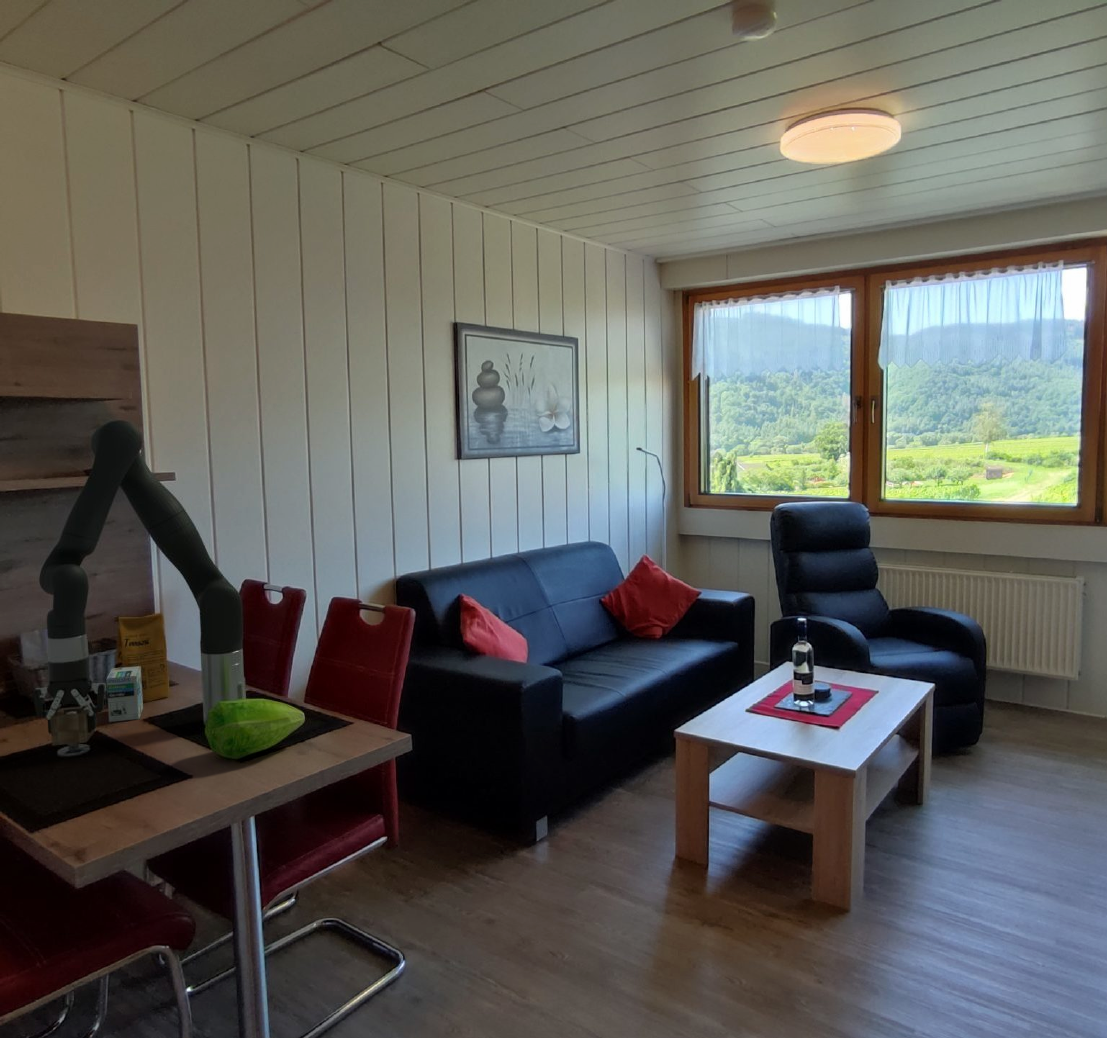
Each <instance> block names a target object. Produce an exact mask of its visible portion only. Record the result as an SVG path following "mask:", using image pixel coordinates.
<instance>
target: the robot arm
mask: <svg viewBox="0 0 1107 1038" xmlns="http://www.w3.org/2000/svg"><path fill="white" fill-rule="evenodd" d="M90 447H91V448H90V449H91V451H92V453H93V455H94V460H93V463H92V465H91V466H92V467H91V470H90V473H89V475H88V477H87V479H86V482H85V483H84V485H83V488H82V490H81V491H80V493H79V495H78V496H77V498H76V500H75V502H74V504H73V506H72V508H71V510H70V513H69V514H68V517H67V518H66V519H67V520H66V522H65V524H64V527H63V529H62V532H61V535H60V537H59V540H58V542H57V544H55V546H54V547H53V549H52V550H51V551H50V552H49V553H50V554H49V555H48V557H46V560H45V562H44V563H43V565H42V567H41V569H40V572H39V578H38V582H39V586H40V588H41V589H42V590H43V591H44V592H45V593H46V594H49V595H51V596H52V599H53V600H52V609H51V610H49V611H48V613H47V615H46V633H47V634H46V635H47V643H46V644H47V645H46V659H47V669H48V670H47V671H48V685H47V686H45V687H40V686H38V687H36V688H35V689H33V690H32V692H31V695H32V698H33V704H34V709H35V713H36V715H35V716H36V717H37V718H45V719H46V720H47V730H48V731H47V732H48V733H49V734H50V735H51V722H50V717H51V716H52V715H54V714H55V712H57V711H58V710H59V709H60V708H61V706H67V705H69V704H72V705H79V707H82V708H83V709H84V710H85V711H86V712H87V714H88V716H87V719H88V733H92V732H93V731H94V732H95V729H96V728H97V724H98V722H97V714H98V713H101V712H103V711H104V710H105V709H106V706H107V705H106V703H107V681H102V682H101V683H98V682H96V683H95V682H93V681H92V679H91V677H90V676H91V672H90V660H89V658H90V657H89V645H88V644H89V643H88V640H87V639H88V638H87V631H86V630H87V629H86V618H85V617H86V616H85V613H86V609H87V604H88V603H87V602H88V597H89V596H88V595H89V589H90V588H89V587H90V586H89V579H88V575H87V573H86V571H85V570H84V568H82V567H80V566H81V564H82V563H83V561H84V560H85V558H86V557H88V556H90V555H92V554H93V553H94V552H95V550H96V548H97V545H98V543H99V540H100V537H101V535H102V532H103V530H104V527H105V524H106V522H107V519H108V516H109V513H110V511H111V508H112V505H113V502H114V499H115V498H116V495H117V492H118V491H119V489H121V490H122V491H123V493H124V495H125V496H126V499H127V500H128V503H129V504H130V505H131V508H132V509H133V510H134V512H135V514H136V516H137V517H138V519H139V520H140V522H141V524H142V525H143V528H145V530H146V533H148V534H149V536H150V537H151V539H152V541H153V542H154V544H155V545H156V547H157V548H158V549H159V551H161V553H162V554H163V555H164V556H165V557H166V559H167V560H168V561H169V562H170V563H171V564H172V565H173V566H174V567H175V568H176V570H177V571H178V572H179V573H180V575H181V576H182V578H183V579H184V581H185V582H186V584H187V586H188V588H189V590H190V591H191V594H192V596H193V598H194V600H195V602H196V605H197V607H198V609H199V627H200V629H199V630H200V639H199V647H200V668H201V669H200V670H201V688H202V689H201V691H202V709H203V710H202V711H203V714H202V716H203V725H204V726H206V722H207V717H208V712H209V711H210V710H211V709H212V708H213V707H214V706H215V705H216V704H217V703H218V702H220V701H232V700H237V699H247V696H246V695H247V693H246V677H245V676H244V675H245V673H244V671H245V670H244V653H243V652H244V650H243V649H244V648H243V639H244V615H243V614H244V612H243V600H242V596H241V594H240V592H239V591H238V590H237V588H235V587H234V585H232V584H231V582H229V580H228V579H227V578H226V577H225V576H224V574H223V573H222V572H221V571H220V569H219V568H218V567H217V566H216V564H215V563H214V561H213V560H212V557H210V554H209V553H208V550H207V548H206V545H205V543H204V541H203V539H202V537H201V534H200V532H199V531H198V529H197V527H196V525H195V523H194V522H193V520H192V518H191V517H190V515H189V514H188V512H187V511H186V509H185V507H184V506H183V505H182V504H181V502H180V501H179V500H178V499H177V497H176V496H175V495H174V494H173V493H172V492H171V491H170V490H169V489H168V488H167V487H166V486H165V485H164V484H162V482H161V481H159V479H157V478H156V476H155V475H154V473H152V471H151V470H150V468H149V467H148V464H147V463H146V461H145V460H144V458H143V455H142V454H141V450H142V447H143V437H142V434H141V432H140V430H139V429H138V427H137V426H135V424H133V423H131V422H130V421H126V420H120V419H117V420H111V421H109V422H107V423H104V424H103V425H101V426H99V427H98V428H97V429H96V430H95V431H94V432H93V433H92V436H91V439H90ZM91 690H93V691H94V694H96V695H97V696H96V697H97V698H96V705H95V704H94V703H93V701H92V699H91V697H90V695H89V692H90V691H91ZM47 693H48V694H49V695H50V696H51V697H52V699H54V700H53V701H52V703H51V705H50V708H49V710H48V709H47V706H46V701H45V697H46V696H47Z"/></svg>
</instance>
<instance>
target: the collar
mask: <svg viewBox="0 0 1107 1038" xmlns="http://www.w3.org/2000/svg"><path fill="white" fill-rule="evenodd" d="M71 711H77V714H68V715H66V713H67V712H71ZM87 716H88V714H87V712H86V711H85V710H84V709H83V708H82V707H81V706H72V707H62V708H61V707H59V709H58V711H57V712H55V714H54V715H52V716H51V717H50V722H51V734H50V735H51V746H60V745H61V746H62V745H68V744H74V743H79V744H84V743H87V742H88V740H90V738H92V736H93V735H94V734H95V730H94V731H93V732H92V733H88V719H87Z"/></svg>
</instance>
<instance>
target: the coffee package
mask: <svg viewBox="0 0 1107 1038" xmlns="http://www.w3.org/2000/svg"><path fill="white" fill-rule="evenodd" d="M164 623H165V618H164V614H163V612H157V613H154V614H149V615H144V616H141V617H140V616H139V617H137V616H136V617H135V616H134V617H131V616H129V617H128V616H125V617H121V616H118V630H117V639H116V648H115V663H114V668H125V667H137V666H140V667H141V681H142V699H143V703H145V702H146V703H148V702H149V703H150V702H154V701H157V700H162V699H164V698H168V697H169V696H170V678H169V671H168V670H169V669H168V658H167V657H168V656H167V651H168V650H167V641H166V635H165V628H164V627H165V624H164Z"/></svg>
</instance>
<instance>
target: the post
mask: <svg viewBox="0 0 1107 1038" xmlns="http://www.w3.org/2000/svg"><path fill="white" fill-rule="evenodd" d="M68 714H77V711H71V712H67V713H66V715H68ZM90 750H91V746H90V745H88V744H84V743H74V744H67V746H63V747H62V748H60V749H58V750H57V756H58V757H61V758H73V757H78V756H82V755H85V754H86V753H88V752H89V751H90Z"/></svg>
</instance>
